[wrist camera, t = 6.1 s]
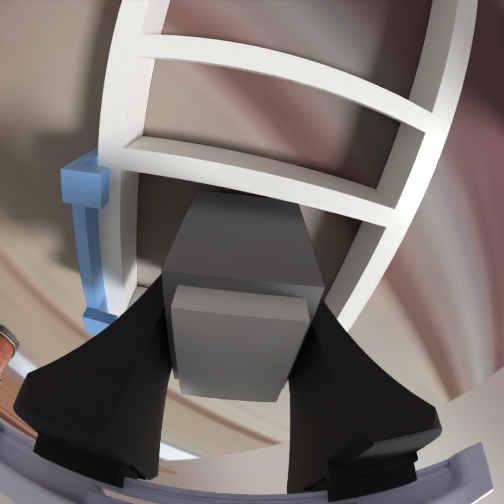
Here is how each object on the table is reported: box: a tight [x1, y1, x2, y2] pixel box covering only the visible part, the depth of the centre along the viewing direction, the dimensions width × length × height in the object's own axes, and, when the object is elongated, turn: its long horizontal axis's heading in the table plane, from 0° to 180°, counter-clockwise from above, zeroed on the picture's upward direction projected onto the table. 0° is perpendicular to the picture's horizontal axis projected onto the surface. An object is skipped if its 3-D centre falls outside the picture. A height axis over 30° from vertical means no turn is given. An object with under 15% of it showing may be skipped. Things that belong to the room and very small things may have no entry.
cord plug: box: [161, 190, 325, 402], centre depth 10 cm, size 4×5×6 cm
